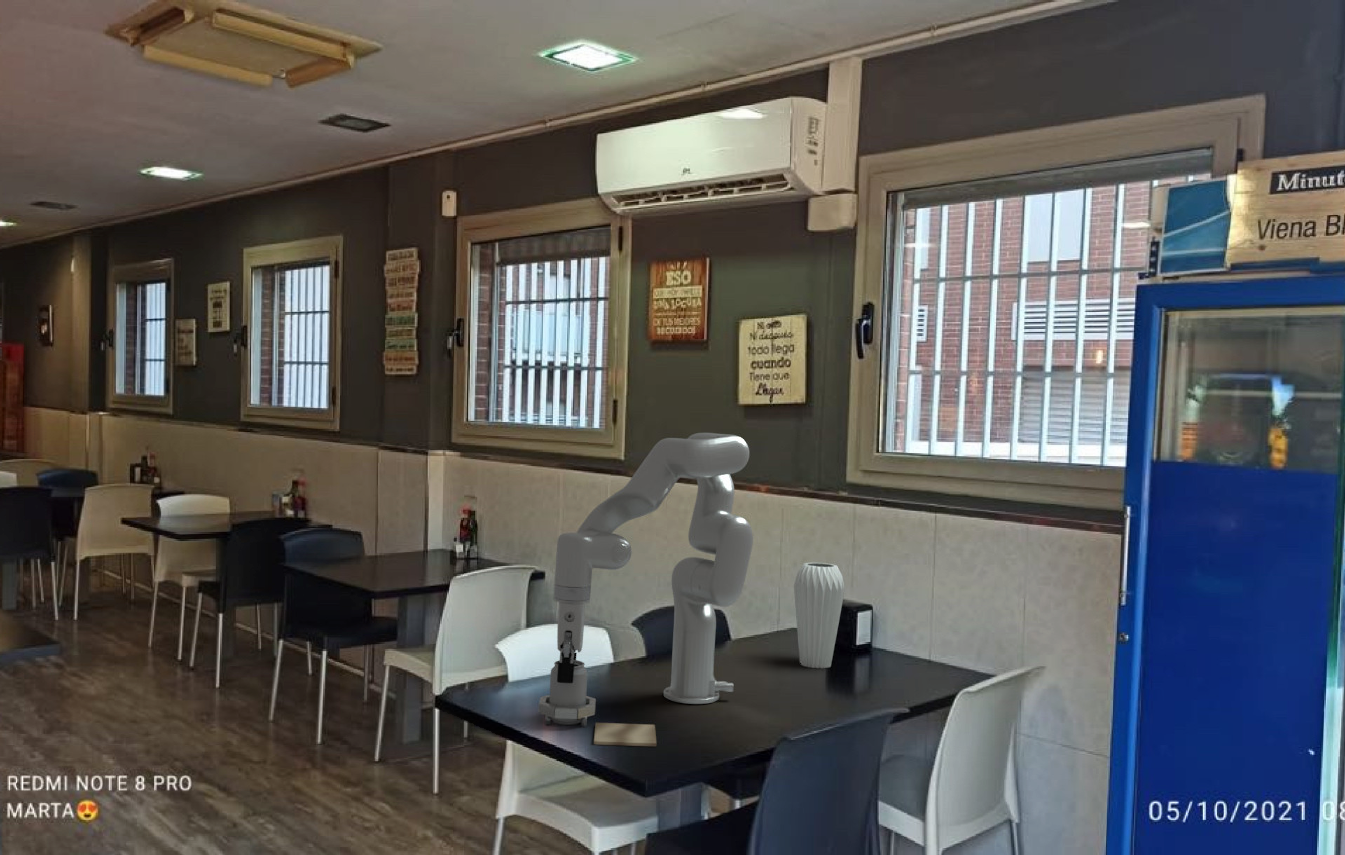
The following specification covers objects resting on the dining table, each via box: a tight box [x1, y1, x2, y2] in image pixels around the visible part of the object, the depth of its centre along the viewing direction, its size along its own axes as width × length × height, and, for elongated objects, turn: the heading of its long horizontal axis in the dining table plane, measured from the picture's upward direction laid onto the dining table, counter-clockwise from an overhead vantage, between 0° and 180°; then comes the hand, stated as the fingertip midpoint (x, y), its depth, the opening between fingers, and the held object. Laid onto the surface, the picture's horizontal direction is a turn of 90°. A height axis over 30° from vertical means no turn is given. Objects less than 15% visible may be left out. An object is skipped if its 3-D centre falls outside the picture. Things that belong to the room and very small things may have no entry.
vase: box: [793, 562, 845, 669], centre depth 275 cm, size 13×13×26 cm
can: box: [549, 659, 588, 726], centre depth 216 cm, size 8×8×12 cm
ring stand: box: [538, 694, 597, 728], centre depth 216 cm, size 11×11×4 cm
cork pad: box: [593, 722, 657, 747], centre depth 207 cm, size 12×12×1 cm
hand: (566, 676), depth 215 cm, fingers open, 9 cm apart
